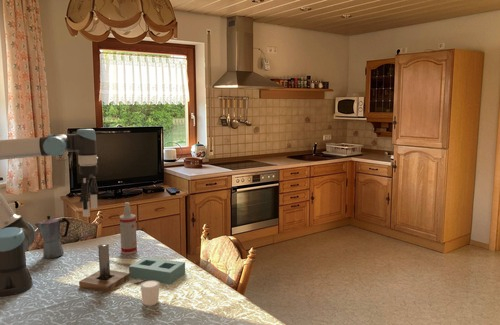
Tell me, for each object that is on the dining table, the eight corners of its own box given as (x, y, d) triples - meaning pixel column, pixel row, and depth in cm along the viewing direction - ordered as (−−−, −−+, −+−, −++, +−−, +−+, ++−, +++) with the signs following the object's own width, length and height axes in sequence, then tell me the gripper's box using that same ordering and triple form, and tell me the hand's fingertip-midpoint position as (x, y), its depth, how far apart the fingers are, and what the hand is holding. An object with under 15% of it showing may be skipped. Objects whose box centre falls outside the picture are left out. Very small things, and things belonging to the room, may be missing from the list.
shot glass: (152, 295, 161) (151, 278, 160) (163, 301, 157) (163, 283, 156) (137, 302, 156) (136, 284, 155) (148, 307, 152) (148, 289, 151)
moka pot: (37, 254, 206) (34, 214, 204) (71, 250, 213) (68, 211, 210) (36, 261, 198) (33, 219, 195) (71, 256, 204) (69, 215, 202)
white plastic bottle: (121, 249, 213) (119, 201, 210) (136, 248, 215) (134, 200, 212) (121, 254, 206) (119, 204, 202) (137, 253, 208) (135, 203, 205)
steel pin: (106, 285, 171) (104, 247, 168) (98, 284, 172) (96, 246, 170) (112, 281, 174) (110, 244, 172) (104, 280, 176) (102, 243, 174)
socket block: (108, 292, 164) (107, 286, 164) (79, 287, 169) (79, 281, 169) (130, 278, 177) (129, 273, 177) (102, 274, 182) (102, 268, 182)
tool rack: (170, 284, 172) (170, 272, 171) (129, 277, 179) (129, 266, 178) (185, 273, 183) (184, 262, 182) (145, 267, 190) (145, 256, 189)
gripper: (89, 168, 171) (92, 219, 173) (103, 160, 195) (105, 205, 198) (70, 169, 170) (73, 220, 172) (86, 161, 194) (88, 206, 197)
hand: (90, 212), depth 185 cm, fingers open, 13 cm apart
